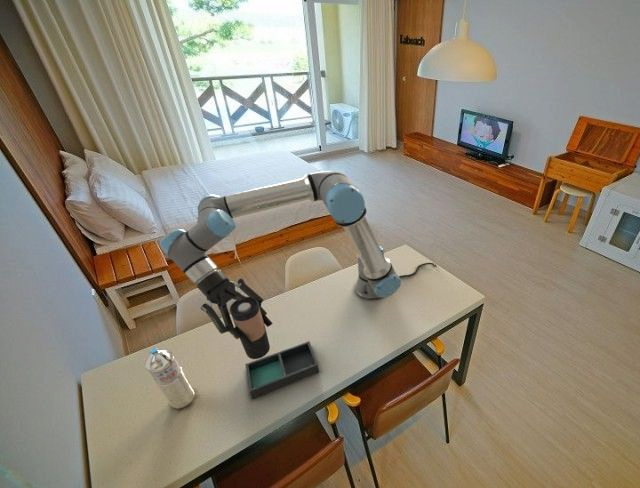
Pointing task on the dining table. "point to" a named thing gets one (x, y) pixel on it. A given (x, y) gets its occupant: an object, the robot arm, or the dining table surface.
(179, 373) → the water bottle
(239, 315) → the travel mug
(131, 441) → the dining table surface
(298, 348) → the divided organizer tray
